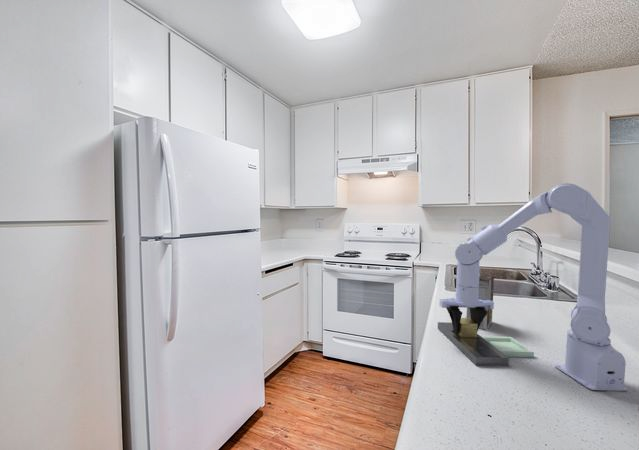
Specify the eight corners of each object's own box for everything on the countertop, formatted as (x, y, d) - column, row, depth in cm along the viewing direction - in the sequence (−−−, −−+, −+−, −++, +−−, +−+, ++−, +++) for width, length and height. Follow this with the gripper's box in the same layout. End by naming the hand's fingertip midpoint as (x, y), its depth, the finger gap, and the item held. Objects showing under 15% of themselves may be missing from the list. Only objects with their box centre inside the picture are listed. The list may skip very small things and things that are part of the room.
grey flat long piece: (508, 365, 70) (508, 357, 70) (475, 365, 70) (475, 356, 70) (462, 329, 92) (463, 322, 92) (437, 328, 92) (437, 321, 92)
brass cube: (476, 345, 81) (477, 323, 81) (460, 344, 81) (461, 323, 81) (468, 338, 85) (469, 318, 85) (453, 338, 85) (454, 317, 85)
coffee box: (471, 317, 103) (473, 272, 102) (492, 322, 99) (495, 275, 98) (465, 324, 96) (467, 276, 95) (487, 330, 92) (490, 279, 91)
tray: (533, 357, 75) (534, 352, 75) (498, 356, 75) (499, 351, 74) (510, 341, 84) (510, 336, 84) (479, 341, 84) (479, 336, 83)
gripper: (484, 282, 86) (482, 327, 87) (435, 281, 86) (433, 326, 87) (499, 288, 79) (496, 337, 80) (446, 287, 79) (444, 336, 80)
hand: (465, 332), depth 83 cm, fingers closed on brass cube, 4 cm apart
